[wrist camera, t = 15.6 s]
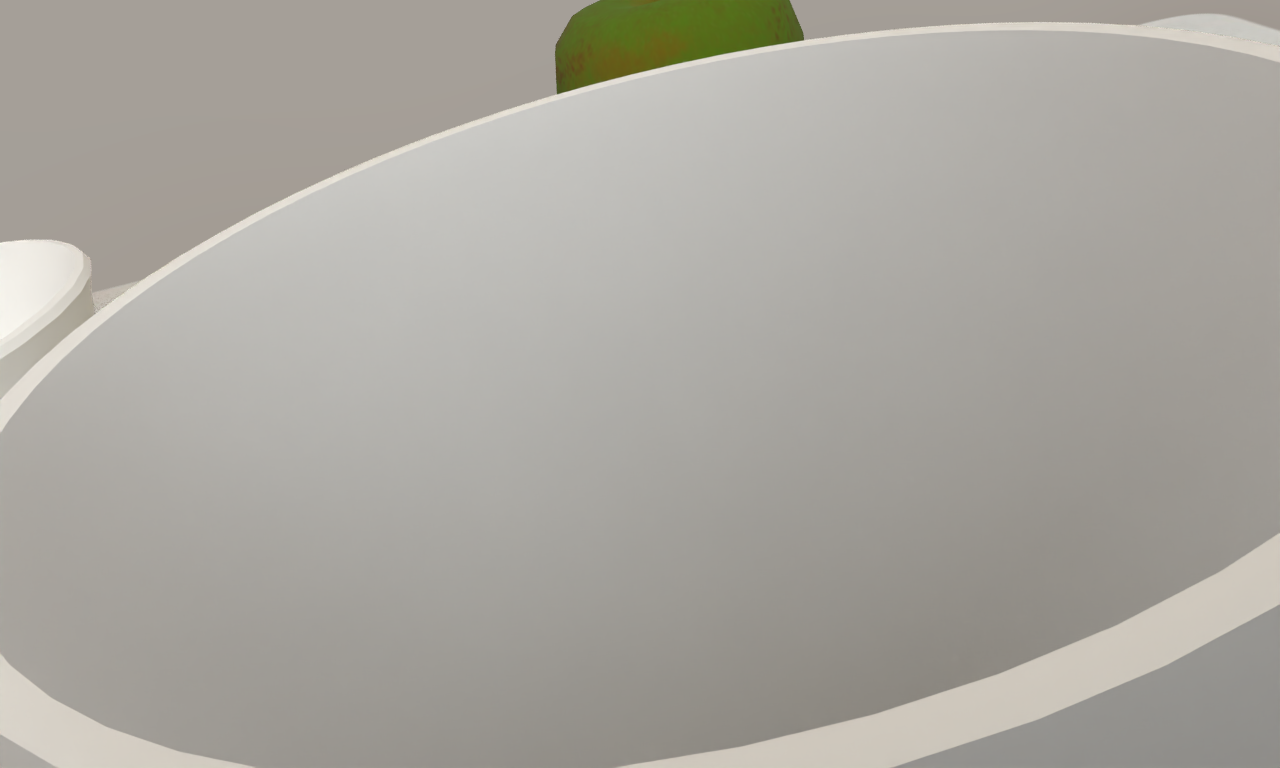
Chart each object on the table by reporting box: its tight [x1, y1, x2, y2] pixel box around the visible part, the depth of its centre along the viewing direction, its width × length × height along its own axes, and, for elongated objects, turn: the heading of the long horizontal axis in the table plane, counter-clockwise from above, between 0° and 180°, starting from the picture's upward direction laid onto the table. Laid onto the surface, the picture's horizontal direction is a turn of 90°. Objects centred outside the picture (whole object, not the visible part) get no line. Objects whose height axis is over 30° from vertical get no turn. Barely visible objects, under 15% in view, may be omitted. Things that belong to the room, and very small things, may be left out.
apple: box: [555, 0, 804, 94], centre depth 52 cm, size 11×11×11 cm
